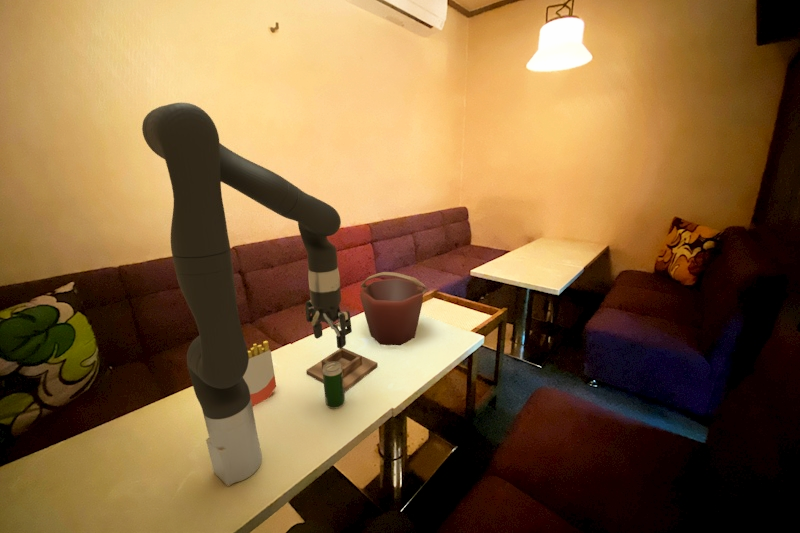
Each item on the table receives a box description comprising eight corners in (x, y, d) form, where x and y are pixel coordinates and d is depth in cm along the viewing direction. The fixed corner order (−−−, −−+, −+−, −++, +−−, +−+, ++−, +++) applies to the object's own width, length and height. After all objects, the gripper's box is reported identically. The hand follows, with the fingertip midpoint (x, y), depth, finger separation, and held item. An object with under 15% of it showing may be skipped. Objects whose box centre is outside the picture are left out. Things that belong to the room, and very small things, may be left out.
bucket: (434, 330, 137) (436, 270, 128) (405, 359, 119) (404, 291, 111) (383, 315, 149) (381, 259, 141) (349, 339, 132) (345, 276, 123)
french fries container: (233, 404, 99) (222, 349, 93) (270, 386, 106) (261, 334, 100) (240, 412, 96) (228, 356, 90) (277, 393, 103) (269, 340, 97)
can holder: (342, 393, 103) (341, 380, 101) (306, 374, 112) (305, 362, 110) (377, 366, 115) (377, 354, 114) (342, 351, 124) (341, 339, 122)
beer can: (330, 412, 96) (326, 375, 92) (322, 401, 100) (319, 365, 96) (348, 404, 99) (345, 368, 95) (340, 393, 103) (337, 358, 99)
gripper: (294, 283, 88) (300, 340, 94) (334, 296, 81) (338, 357, 86) (316, 274, 94) (321, 328, 100) (356, 286, 86) (359, 344, 92)
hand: (329, 341), depth 93 cm, fingers open, 8 cm apart
